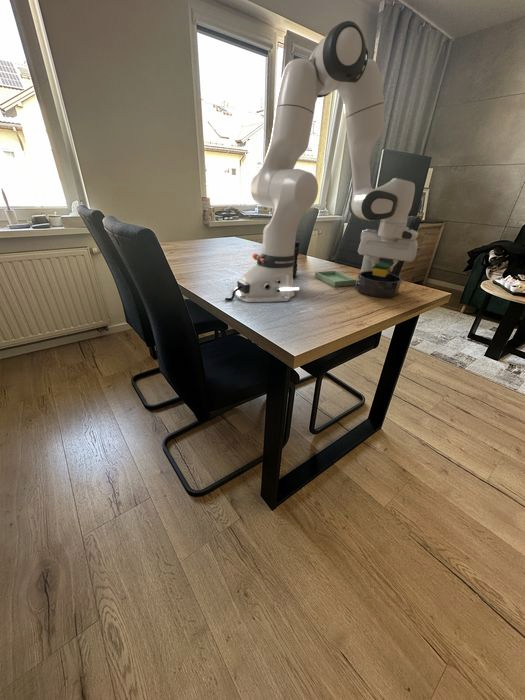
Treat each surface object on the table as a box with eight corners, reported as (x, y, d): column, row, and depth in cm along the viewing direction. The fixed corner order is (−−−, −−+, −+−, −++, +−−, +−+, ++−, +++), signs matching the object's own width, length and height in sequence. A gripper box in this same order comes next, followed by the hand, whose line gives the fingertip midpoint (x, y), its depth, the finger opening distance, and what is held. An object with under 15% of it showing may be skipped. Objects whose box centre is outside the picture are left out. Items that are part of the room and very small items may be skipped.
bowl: (374, 300, 103) (378, 283, 100) (347, 287, 115) (350, 272, 112) (406, 296, 108) (411, 280, 105) (377, 284, 121) (381, 270, 118)
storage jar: (278, 279, 120) (280, 242, 113) (271, 273, 128) (273, 238, 121) (299, 278, 123) (303, 242, 115) (291, 272, 131) (294, 238, 123)
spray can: (376, 281, 124) (388, 233, 113) (361, 281, 124) (372, 232, 113) (371, 277, 129) (382, 231, 119) (357, 277, 129) (367, 230, 119)
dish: (334, 287, 115) (335, 281, 113) (314, 276, 127) (315, 271, 125) (355, 284, 118) (356, 279, 117) (334, 275, 130) (335, 270, 129)
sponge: (384, 277, 105) (387, 267, 103) (372, 274, 107) (374, 265, 105) (388, 273, 110) (391, 263, 108) (376, 271, 112) (379, 261, 110)
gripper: (359, 229, 103) (352, 267, 110) (420, 235, 94) (408, 276, 101) (364, 227, 108) (357, 264, 115) (423, 233, 98) (411, 272, 105)
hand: (381, 269), depth 108 cm, fingers closed on sponge, 4 cm apart
